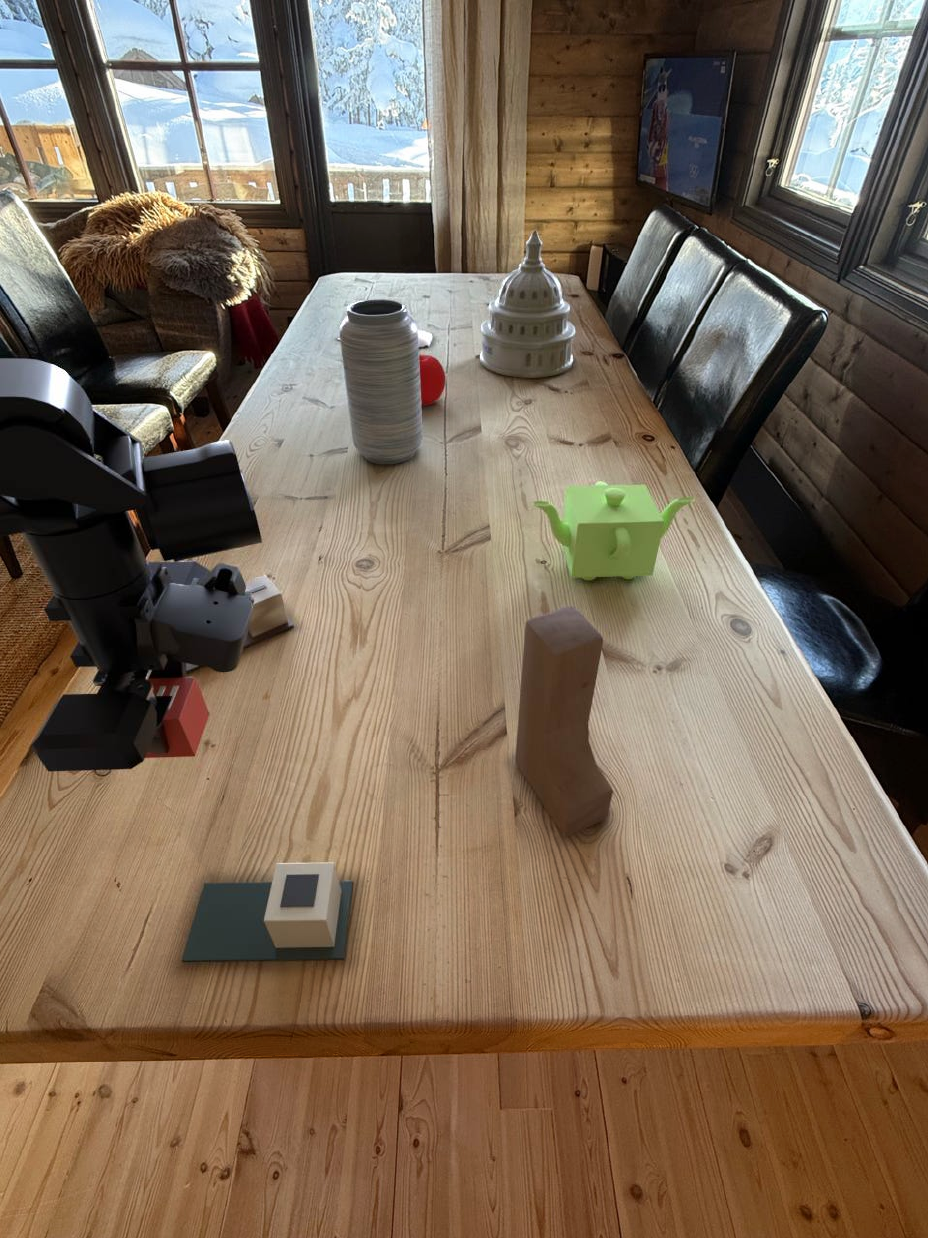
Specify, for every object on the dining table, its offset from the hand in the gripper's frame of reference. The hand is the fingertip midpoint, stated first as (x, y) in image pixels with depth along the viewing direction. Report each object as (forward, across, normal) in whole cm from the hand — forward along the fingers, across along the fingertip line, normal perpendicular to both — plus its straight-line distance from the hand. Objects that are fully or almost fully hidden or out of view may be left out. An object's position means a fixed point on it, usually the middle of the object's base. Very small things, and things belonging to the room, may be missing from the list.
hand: (171, 729), depth 52 cm
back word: (+10, +22, +4) cm, 24 cm away
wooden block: (+10, 0, -32) cm, 34 cm away
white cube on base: (+10, -11, -8) cm, 17 cm away
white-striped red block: (+1, 0, 0) cm, 1 cm away
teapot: (+10, +35, -43) cm, 56 cm away
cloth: (+10, +126, -9) cm, 127 cm away
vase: (+10, +68, -13) cm, 70 cm away
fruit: (+10, +89, -18) cm, 91 cm away
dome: (+10, +110, -40) cm, 117 cm away
